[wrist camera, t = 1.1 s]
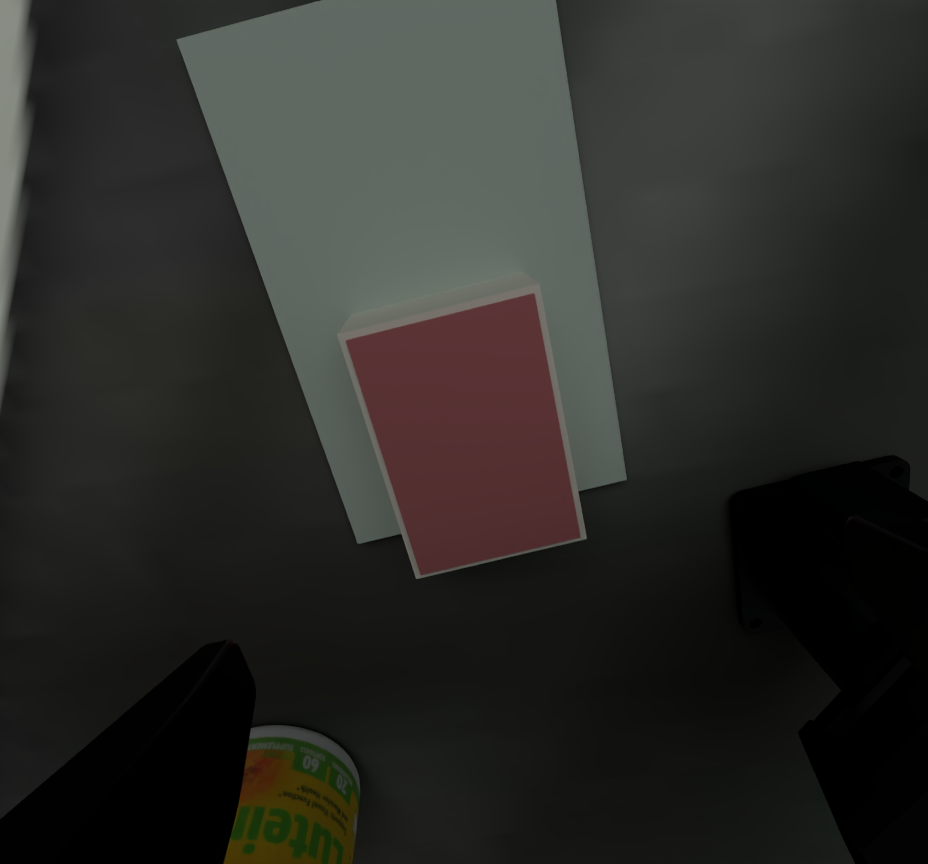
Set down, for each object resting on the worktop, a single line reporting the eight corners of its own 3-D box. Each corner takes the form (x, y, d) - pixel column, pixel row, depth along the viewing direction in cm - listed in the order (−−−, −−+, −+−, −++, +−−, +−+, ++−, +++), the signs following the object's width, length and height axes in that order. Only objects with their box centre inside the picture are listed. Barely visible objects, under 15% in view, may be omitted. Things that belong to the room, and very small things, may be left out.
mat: (622, 473, 21) (626, 479, 21) (359, 536, 22) (358, 544, 21) (542, -53, 15) (546, -61, 15) (184, 44, 16) (176, 39, 15)
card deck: (565, 494, 21) (588, 541, 18) (417, 529, 21) (416, 582, 18) (522, 271, 18) (540, 284, 15) (351, 314, 18) (336, 335, 15)
